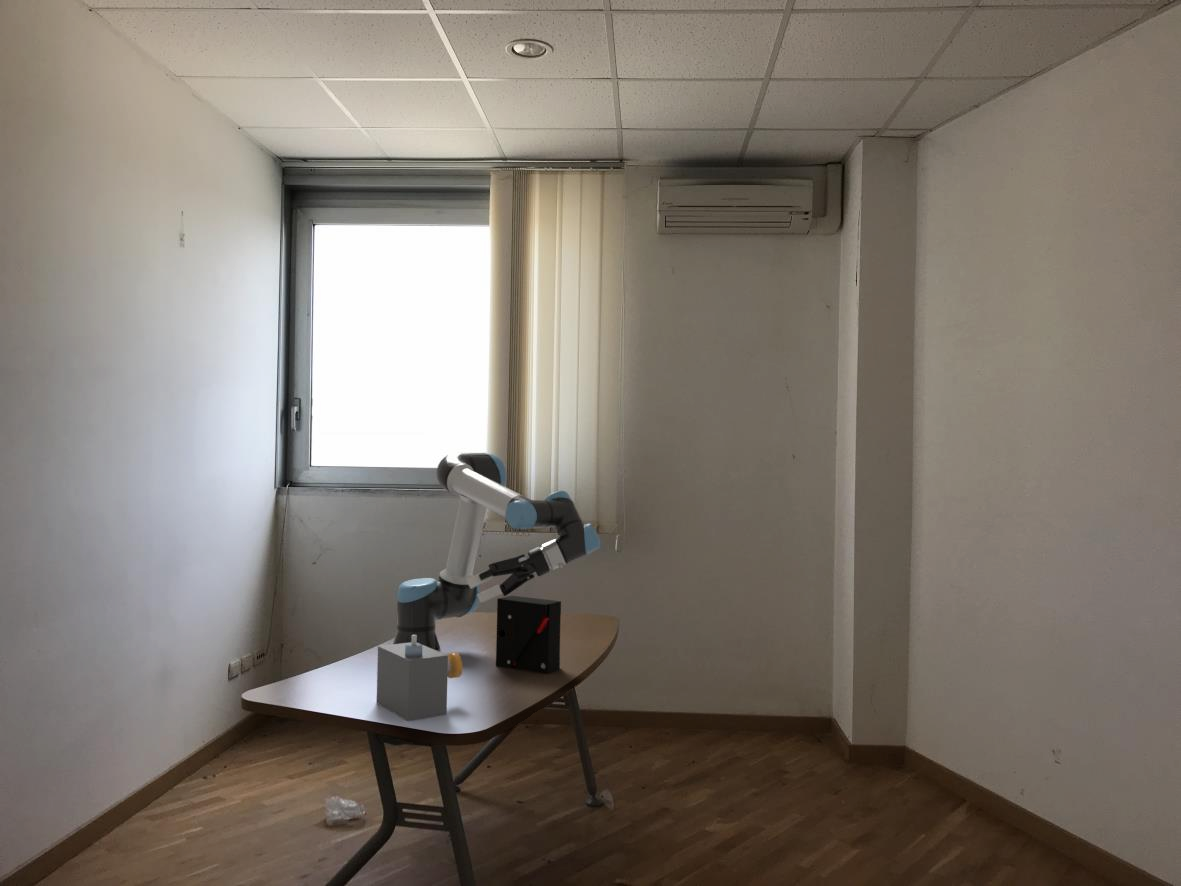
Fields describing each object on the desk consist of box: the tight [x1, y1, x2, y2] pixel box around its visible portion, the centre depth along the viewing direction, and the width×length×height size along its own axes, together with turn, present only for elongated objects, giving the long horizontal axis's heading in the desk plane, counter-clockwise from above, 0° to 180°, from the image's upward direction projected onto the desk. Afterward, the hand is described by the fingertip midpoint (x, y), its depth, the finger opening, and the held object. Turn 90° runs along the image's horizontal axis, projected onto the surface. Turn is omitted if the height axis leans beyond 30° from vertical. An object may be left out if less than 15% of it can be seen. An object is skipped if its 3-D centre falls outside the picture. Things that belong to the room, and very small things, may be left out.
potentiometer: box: [405, 635, 422, 657], centre depth 207 cm, size 4×4×5 cm
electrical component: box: [495, 595, 562, 675], centre depth 256 cm, size 18×10×20 cm, turn 59°
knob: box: [446, 652, 463, 679], centre depth 217 cm, size 6×8×6 cm
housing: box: [376, 642, 448, 722], centre depth 212 cm, size 18×10×14 cm, turn 37°
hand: (473, 591), depth 234 cm, fingers open, 13 cm apart
